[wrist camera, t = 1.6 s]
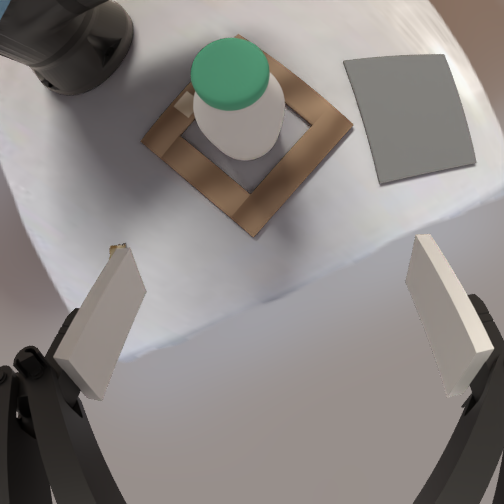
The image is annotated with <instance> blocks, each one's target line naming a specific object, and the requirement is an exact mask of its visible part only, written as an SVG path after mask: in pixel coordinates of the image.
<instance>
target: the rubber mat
mask: <svg viewBox="0 0 504 504" xmlns="http://www.w3.org/2000/svg"><path fill="white" fill-rule="evenodd" d="M343 63H344V66H345V69H346V72H347V74H348V77H349V80H350V83H351V86H352V89H353V92H354V95H355V98H356V101H357V104H358V107H359V110H360V114H361V117H362V120H363V124H364V127H365V131H366V134H367V138H368V141H369V145H370V149H371V152H372V156H373V160H374V164H375V168H376V172H377V176H378V181H379V184H381V183H385V182H389V181H394V180H398V179H403V178H407V177H412V176H416V175H421V174H426V173H430V172H435V171H440V170H444V169H449V168H454V167H459V166H464V165H469V164H474V163H476V158H475V153H474V149H473V144H472V140H471V136H470V132H469V128H468V124H467V121H466V117H465V113H464V110H463V107H462V103H461V100H460V97H459V94H458V91H457V88H456V85H455V82H454V79H453V76H452V73H451V71H450V68H449V65H448V63H447V60H446V58H445V55H444V54H428V55H400V56H384V57H372V58H362V59H353V60H345V61H343Z"/></svg>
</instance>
